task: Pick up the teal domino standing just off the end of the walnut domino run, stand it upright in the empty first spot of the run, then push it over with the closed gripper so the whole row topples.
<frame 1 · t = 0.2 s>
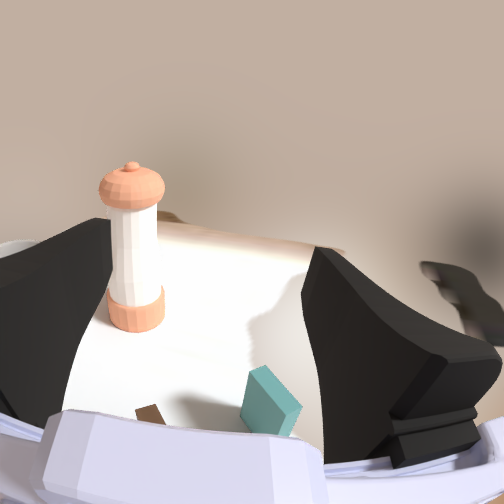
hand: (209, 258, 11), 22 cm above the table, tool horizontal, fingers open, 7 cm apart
domino 2: (165, 470, 22), on the table
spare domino: (261, 431, 27), on the table
teacup: (30, 312, 35), on the table
salt shaker: (137, 314, 39), on the table
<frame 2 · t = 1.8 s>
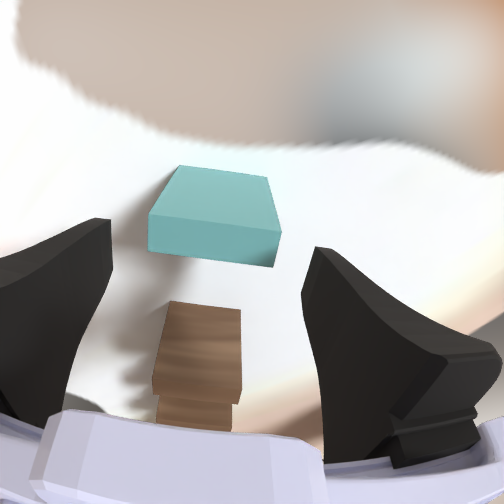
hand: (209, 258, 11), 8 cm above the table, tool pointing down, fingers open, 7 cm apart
domino 2: (204, 313, 23), on the table
domino 3: (200, 354, 25), on the table
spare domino: (221, 183, 18), on the table
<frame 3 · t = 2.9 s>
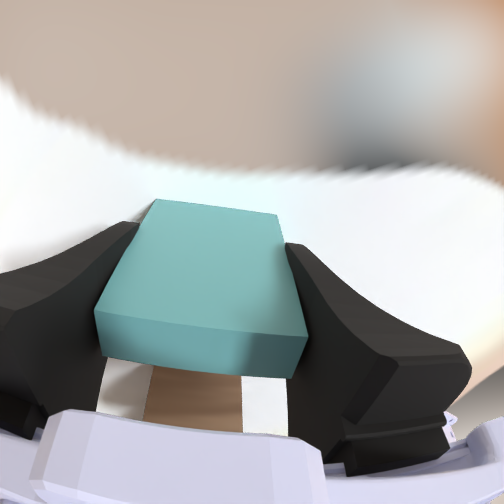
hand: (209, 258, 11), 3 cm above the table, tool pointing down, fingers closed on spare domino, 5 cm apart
domino 2: (197, 372, 18), on the table
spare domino: (214, 224, 13), on the table, touching gripper
when the fingers open (4 cm above the table, at t = 6.4 s): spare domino drops 1 cm, on the table.
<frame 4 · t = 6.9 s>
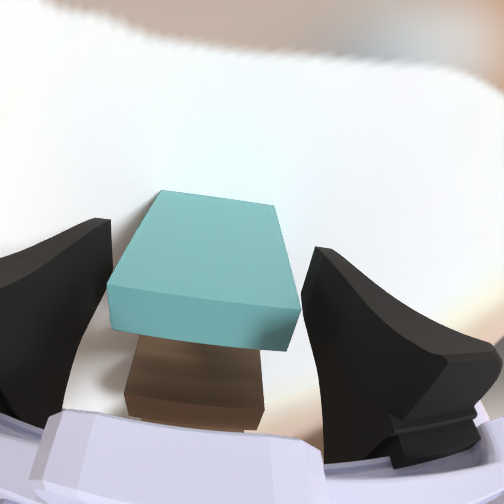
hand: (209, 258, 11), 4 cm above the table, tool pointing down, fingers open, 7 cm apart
domino 2: (204, 299, 17), on the table
domino 3: (199, 356, 19), on the table
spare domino: (215, 214, 14), on the table
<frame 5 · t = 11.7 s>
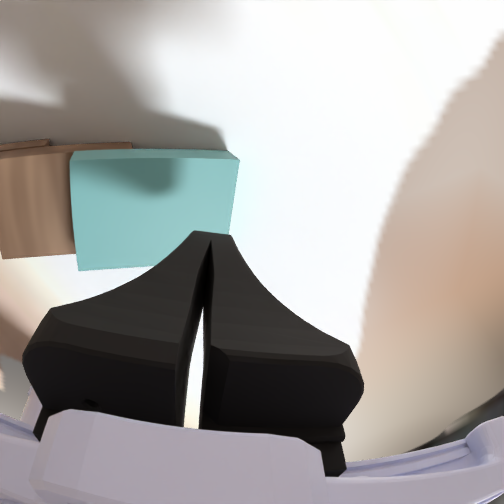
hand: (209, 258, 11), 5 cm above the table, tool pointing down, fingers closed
domino 2: (130, 196, 15), point 1 cm above the table, tilted 69°, touching domino 3, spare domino
domino 3: (49, 188, 14), point 1 cm above the table, tilted 68°, touching domino 2, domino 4
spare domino: (225, 206, 15), point 1 cm above the table, tilted 70°, touching domino 2
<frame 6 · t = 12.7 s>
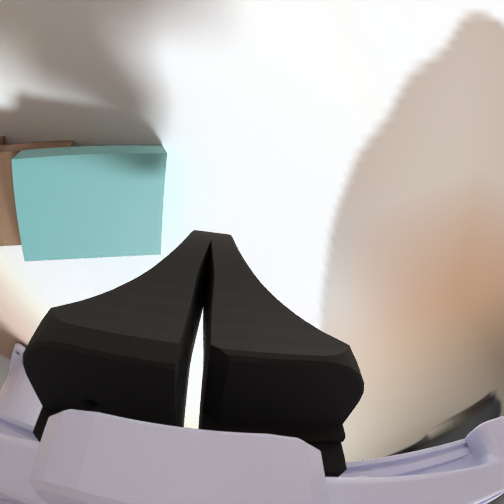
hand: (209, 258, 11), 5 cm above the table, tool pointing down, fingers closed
domino 2: (71, 191, 14), point 1 cm above the table, tilted 70°, touching domino 3, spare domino
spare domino: (160, 200, 15), point 1 cm above the table, tilted 71°, touching domino 2
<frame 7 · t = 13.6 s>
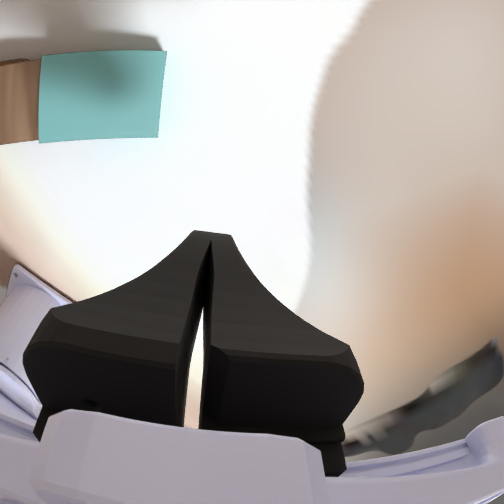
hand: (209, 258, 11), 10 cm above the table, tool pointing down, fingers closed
domino 2: (82, 94, 16), point 1 cm above the table, tilted 71°, touching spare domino
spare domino: (160, 93, 16), point 1 cm above the table, tilted 71°, touching domino 2
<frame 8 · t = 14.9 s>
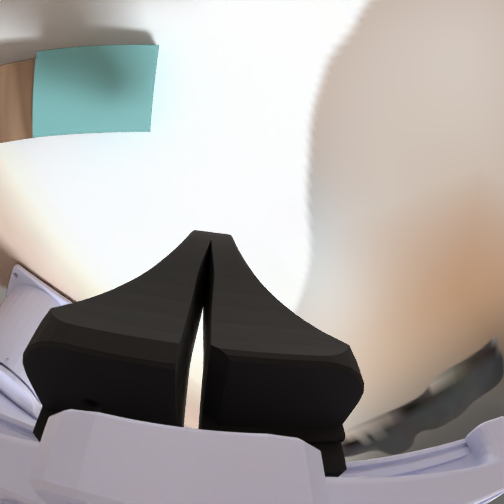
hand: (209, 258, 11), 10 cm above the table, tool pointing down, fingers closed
domino 2: (74, 92, 16), point 1 cm above the table, tilted 73°, touching domino 3, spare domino
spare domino: (153, 87, 16), point 1 cm above the table, tilted 73°, touching domino 2
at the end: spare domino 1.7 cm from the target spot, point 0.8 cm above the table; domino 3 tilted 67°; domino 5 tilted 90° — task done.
